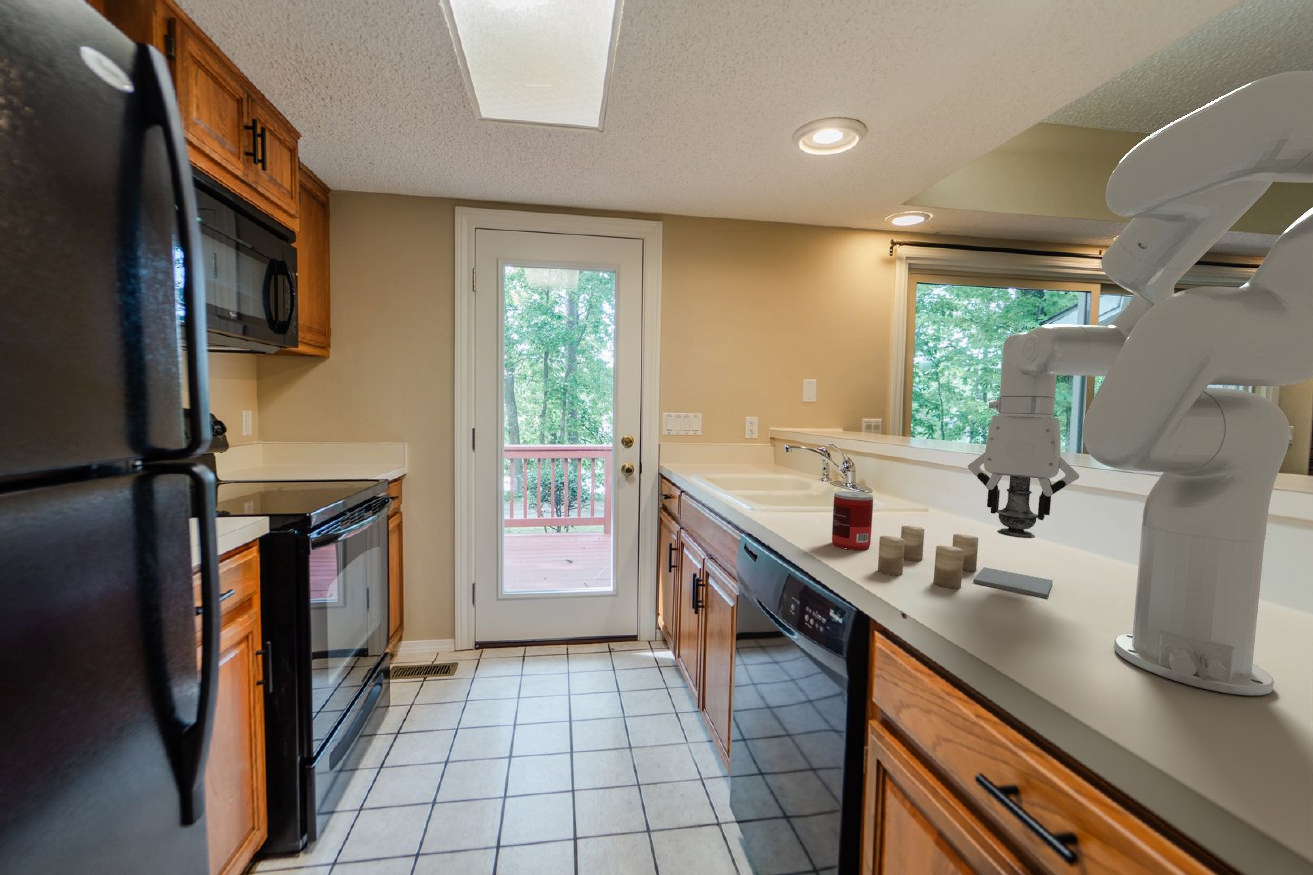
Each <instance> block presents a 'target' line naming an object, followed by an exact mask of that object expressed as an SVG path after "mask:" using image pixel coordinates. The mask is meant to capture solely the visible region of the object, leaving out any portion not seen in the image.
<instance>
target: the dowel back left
mask: <svg viewBox="0 0 1313 875" xmlns="http://www.w3.org/2000/svg"><path fill="white" fill-rule="evenodd" d="M900 538H902V539H904V540H905V542H904V559H903V560H906V561H911V562H922V561H923V560H924V559H923V558H924V542H925V528H924V527H920V526H915V525H901V533H900Z"/></svg>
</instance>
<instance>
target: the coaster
mask: <svg viewBox="0 0 1313 875" xmlns="http://www.w3.org/2000/svg"><path fill="white" fill-rule="evenodd" d="M972 582H973V584H978V585H983V586H987V587H992V588H997V589H1002V590H1005V591H1009V592H1010V591H1011V592H1016V593H1020V594H1025V595H1029V596H1030V595H1031V596H1035V597H1040V598H1045V599H1048V597H1049V594H1050V593H1051V588H1052V586H1053V580H1052V579H1048V578H1042V577H1038V576H1032V575H1026V574H1022V573H1018V572H1017V573H1016V572H1010V571H1005V570H1000V569H996V568H992V567H991V568H990V567H986V566H985V567H982V568H981V570H980V571H979V572H978V573H977V575H976V576H974V578H973V581H972Z"/></svg>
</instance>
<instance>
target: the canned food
mask: <svg viewBox="0 0 1313 875" xmlns="http://www.w3.org/2000/svg"><path fill="white" fill-rule="evenodd" d="M873 508H874V495H873V494H870V493H865V492H859V491H848V490H847V491H845V490H844V491H841V490H840V491H835V492H834V496H833V513H832V528H831V531H832V532H831V542H832V545H833V544H834V546H835V547H836V546H837V548H839V547H840V549H843V548H847V549H846V550H849V549H853V550H852V551H865V549H866V550H868V549H869V548H870V546H871V543H872V542H871V541H872V526H873V510H874V509H873ZM854 549H855V550H854Z"/></svg>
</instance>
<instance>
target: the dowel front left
mask: <svg viewBox="0 0 1313 875" xmlns="http://www.w3.org/2000/svg"><path fill="white" fill-rule="evenodd" d="M878 542H879V544H878V559H877V560H878V562H877V563H878V564H877V572H878V571H879V572H878V573H880V572H881V573H880V574H883V575H886V574H889V575H888V576H892V575H894V576H895V577H898V576H899V575H900V576H903V572H904V560H905V559H904V542H905V540H904V539H902V538H901V537H898V536H892V535H881V536H879V541H878Z"/></svg>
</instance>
